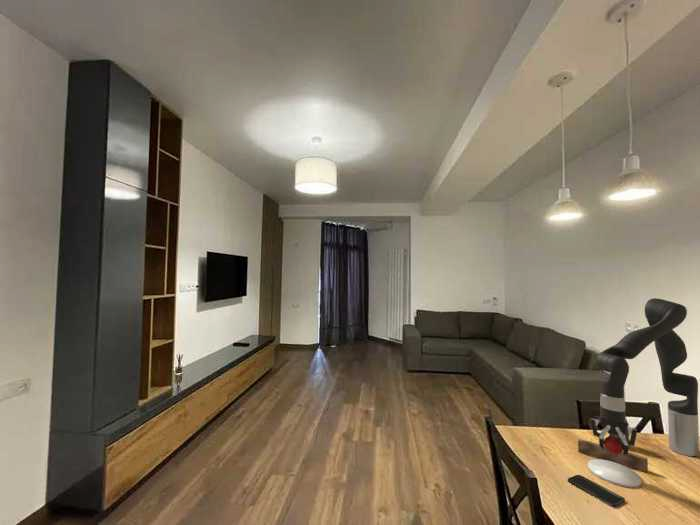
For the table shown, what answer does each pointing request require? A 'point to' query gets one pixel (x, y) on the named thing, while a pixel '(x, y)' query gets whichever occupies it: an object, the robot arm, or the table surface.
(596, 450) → the wooden plank
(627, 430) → the soda can
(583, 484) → the phone
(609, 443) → the onion
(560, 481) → the table surface
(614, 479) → the plate
